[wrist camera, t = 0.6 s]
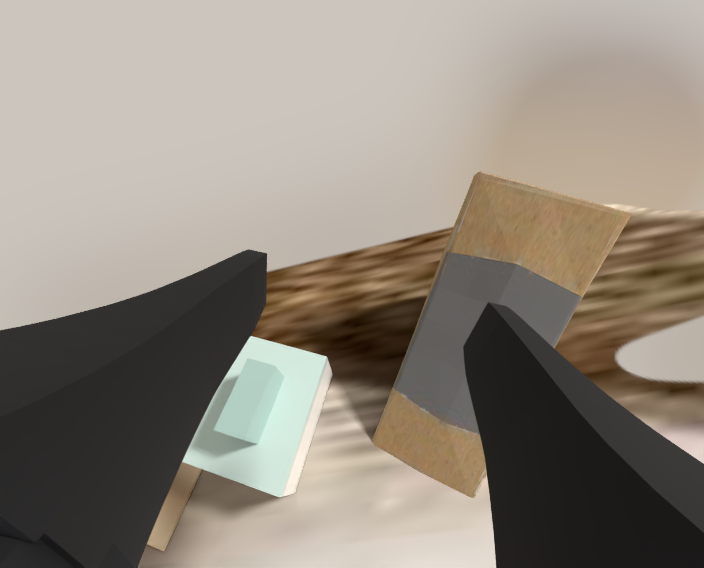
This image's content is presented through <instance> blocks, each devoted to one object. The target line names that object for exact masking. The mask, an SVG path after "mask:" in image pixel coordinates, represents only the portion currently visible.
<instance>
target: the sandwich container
mask: <svg viewBox="0 0 704 568" xmlns="http://www.w3.org/2000/svg"><path fill="white" fill-rule="evenodd" d="M630 216H631V213H628V212H625V211H621V210H618V209H614V208H611V207H607V206H604V205H600V204H596V203H593V202H589V201H586V200H582V199H579V198H575V197H571V196H568V195H564V194H561V193H557V192H554V191H550V190H546V189H543V188H539V187H536V186H532V185H528V184H525V183H520V182H517V181H513V180H510V179H506V178H503V177H499V176H495V175H492V174H488V173H484V172H478V173H477V174H476V175H475V176H474V177H473V180H472V183H471V185H470V188H469V190H468V193H467V195H466V198H465V201H464V203H463V205H462V208H461V210H460V213H459V215H458V218H457V220H456V223H455V225H454V228H453V230H452V232H451V235H450V237H449V240H448V242H447V245H446V247H445V250H444V252H443V255H442V258H441V260H440V263H439V266H438V268H437V271H436V274H435V277H434V279H433V282H432V285H431V287H430V290H429V293H428V295H427V298H426V301H425V304H424V306H423V309H422V312H421V315H420V317H419V320H418V323H417V325H416V328H415V331H414V334H413V336H412V339H411V341H410V344H409V347H408V349H407V352H406V355H405V357H404V360H403V362H402V365H401V367H400V370H399V373H398V375H397V378H396V380H395V383H394V386H393V388H392V391H391V393H390V396H389V398H388V401H387V404H386V406H385V409H384V411H383V414H382V416H381V419H380V422H379V424H378V427H377V429H376V432H375V435H374V437H373V440H372V442H373V444H374V445H376V446H377V447H379V448H381V449H383V450H384V451H386V452H388V453H389V454H391V455H393V456H394V457H396V458H398V459H399V460H401V461H403V462H404V463H406V464H408V465H409V466H411V467H413V468H414V469H416V470H418V471H419V472H421V473H423V474H425V475H427V476H429V477H431V478H433V479H435V480H437V481H439V482H441V483H443V484H445V485H447V486H449V487H451V488H453V489H455V490H457V491H459V492H461V493H463V494H465V495H467V496H469V497H472V498H474V497H475V496H476V494H477V492H478V490H479V488H480V486H481V484H482V482H483V480H484V478H485V476H486V474H487V471H486V463H485V457H484V452H483V447H482V442H481V438H480V433H479V429H478V425H477V421H476V417H475V413H474V409H473V405H472V400H471V396H470V392H469V388H468V383H467V379H466V374H465V364H464V351H463V346H464V344H465V342H466V341H467V339H468V337H469V335H470V333H471V332H472V330H473V328H474V326H475V324H476V323H477V321H478V319H479V317H480V316H481V314H482V312H483V310H484V308H485V307H486V305H487V303H488V302H490V303H495V304H499V305H504V306H507V307H509V308H510V309H511V310H513V311H514V312H515V313H516V314H517V315H518V316H520V317H521V318H522V319H523V320H524V321H525V322H526V323H527V324H528V325H529V326H531V327H532V328H533V329H534V330H535V331H536V332H537V333H538V334H539V335H540V336H541V337H542V338H543V339H544V340H546V341H547V342H548V343H549V344H550V345H551V346H552V347H553V348H555V346H556V345H557V343H558V341H559V339H560V337H561V335H562V333H563V332H564V330H565V328H566V326H567V324H568V323H569V321H570V319H571V317H572V315H573V314H574V312H575V310H576V308H577V306H578V305H579V303H580V301H581V299H582V297H583V296H584V294H585V292H586V290H587V289H588V287H589V285H590V283H591V282H592V280H593V278H594V277H595V275H596V273H597V272H598V270H599V268H600V267H601V265H602V263H603V262H604V260H605V258H606V257H607V255H608V253H609V252H610V250H611V248H612V246H613V245H614V243H615V241H616V240H617V238H618V236H619V235H620V233H621V231H622V230H623V228H624V226H625V225H626V223H627V221H628V220H629V218H630Z"/></svg>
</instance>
